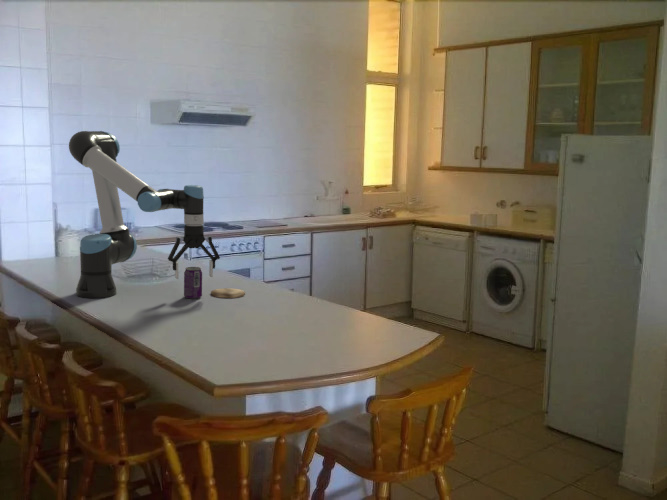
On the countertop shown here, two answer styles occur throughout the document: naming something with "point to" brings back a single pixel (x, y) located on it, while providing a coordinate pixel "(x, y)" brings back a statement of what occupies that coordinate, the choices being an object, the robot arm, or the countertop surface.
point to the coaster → (227, 293)
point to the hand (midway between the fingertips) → (194, 277)
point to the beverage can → (193, 282)
